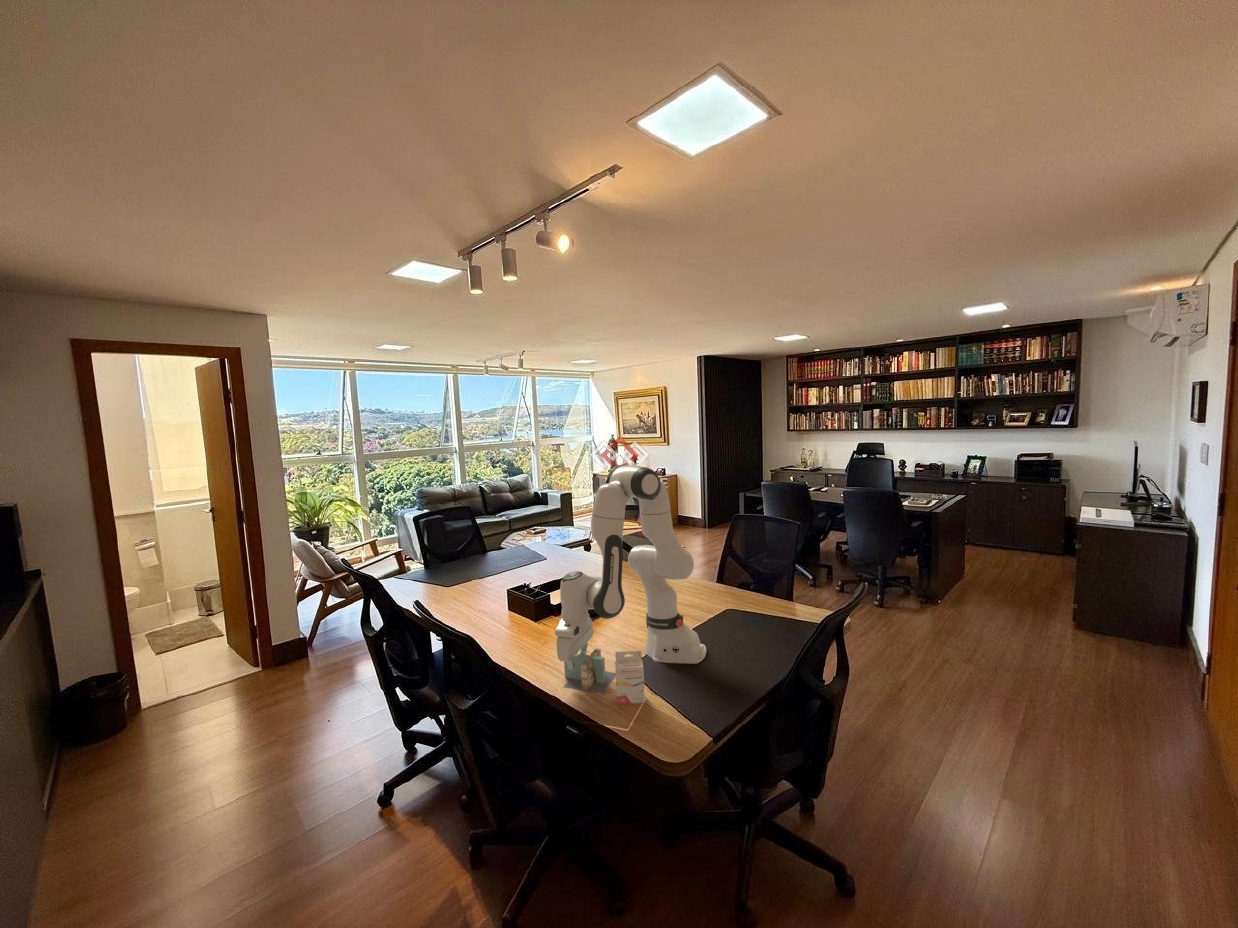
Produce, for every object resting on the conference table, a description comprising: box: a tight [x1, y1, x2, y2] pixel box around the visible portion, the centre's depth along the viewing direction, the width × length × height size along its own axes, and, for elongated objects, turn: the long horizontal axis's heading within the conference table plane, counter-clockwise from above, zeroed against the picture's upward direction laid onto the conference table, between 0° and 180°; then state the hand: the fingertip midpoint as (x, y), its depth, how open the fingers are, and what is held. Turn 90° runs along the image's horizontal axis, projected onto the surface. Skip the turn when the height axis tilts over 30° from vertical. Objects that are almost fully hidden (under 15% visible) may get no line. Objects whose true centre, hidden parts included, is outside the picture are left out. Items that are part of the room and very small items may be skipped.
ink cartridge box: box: [614, 650, 646, 705], centre depth 151 cm, size 9×5×15 cm, turn 92°
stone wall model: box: [581, 648, 602, 691], centre depth 163 cm, size 12×2×8 cm, turn 159°
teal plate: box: [563, 653, 606, 683], centre depth 164 cm, size 14×2×8 cm, turn 69°
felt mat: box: [563, 670, 616, 695], centre depth 164 cm, size 14×13×1 cm
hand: (577, 661), depth 165 cm, fingers open, 8 cm apart
